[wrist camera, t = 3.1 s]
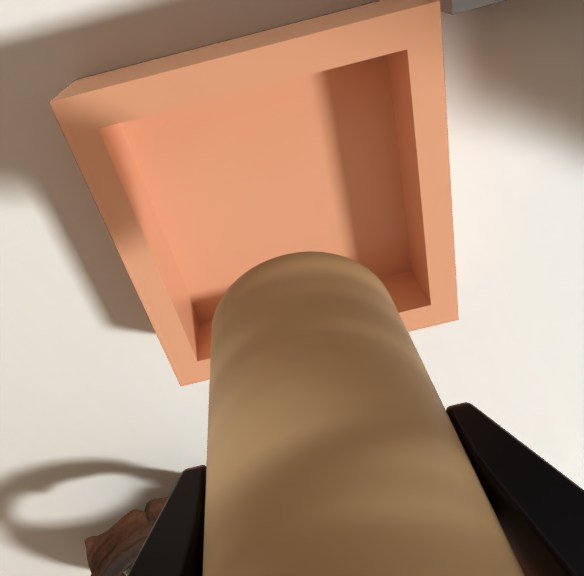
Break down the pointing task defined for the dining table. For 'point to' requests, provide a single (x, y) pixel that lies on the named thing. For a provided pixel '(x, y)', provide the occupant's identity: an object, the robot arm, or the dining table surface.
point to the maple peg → (334, 437)
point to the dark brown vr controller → (122, 541)
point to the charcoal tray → (464, 5)
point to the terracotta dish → (274, 164)
